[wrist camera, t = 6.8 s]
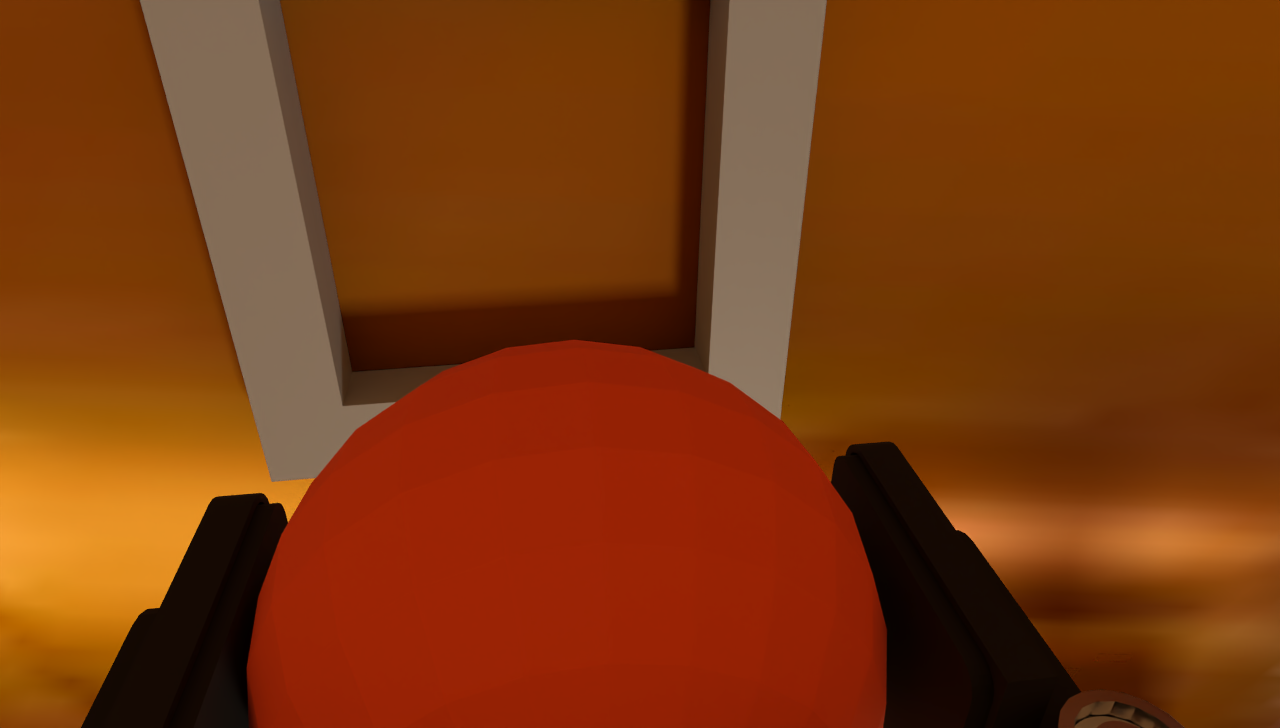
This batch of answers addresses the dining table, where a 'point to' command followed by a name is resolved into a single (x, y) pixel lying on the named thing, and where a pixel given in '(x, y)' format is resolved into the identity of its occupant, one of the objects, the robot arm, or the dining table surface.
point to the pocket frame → (297, 247)
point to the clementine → (570, 562)
